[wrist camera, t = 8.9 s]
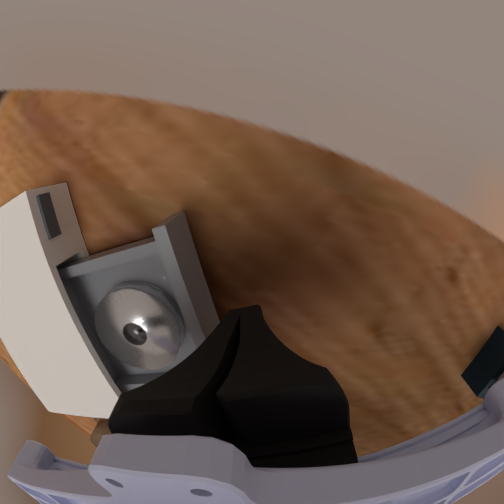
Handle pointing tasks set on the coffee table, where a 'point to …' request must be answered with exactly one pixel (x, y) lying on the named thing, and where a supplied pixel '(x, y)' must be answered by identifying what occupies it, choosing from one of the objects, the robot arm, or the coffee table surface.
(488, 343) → the watch
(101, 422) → the stand
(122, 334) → the disc
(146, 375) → the tray
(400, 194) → the coffee table surface
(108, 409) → the player
